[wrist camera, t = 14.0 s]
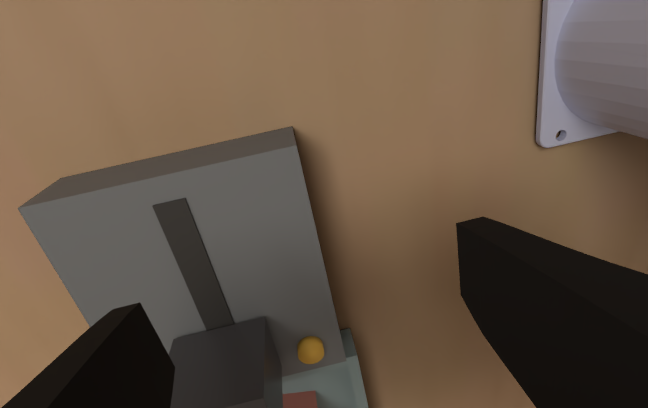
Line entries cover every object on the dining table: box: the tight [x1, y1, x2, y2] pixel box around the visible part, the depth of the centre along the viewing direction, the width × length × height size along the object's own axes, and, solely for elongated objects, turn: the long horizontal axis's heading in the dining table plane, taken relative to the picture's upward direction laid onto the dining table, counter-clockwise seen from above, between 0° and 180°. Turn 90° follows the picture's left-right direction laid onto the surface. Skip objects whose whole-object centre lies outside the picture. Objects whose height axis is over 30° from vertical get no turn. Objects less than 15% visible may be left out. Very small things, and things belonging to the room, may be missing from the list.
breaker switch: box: [169, 317, 283, 408], centre depth 15 cm, size 4×3×4 cm
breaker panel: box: [18, 126, 347, 377], centre depth 17 cm, size 10×11×4 cm
